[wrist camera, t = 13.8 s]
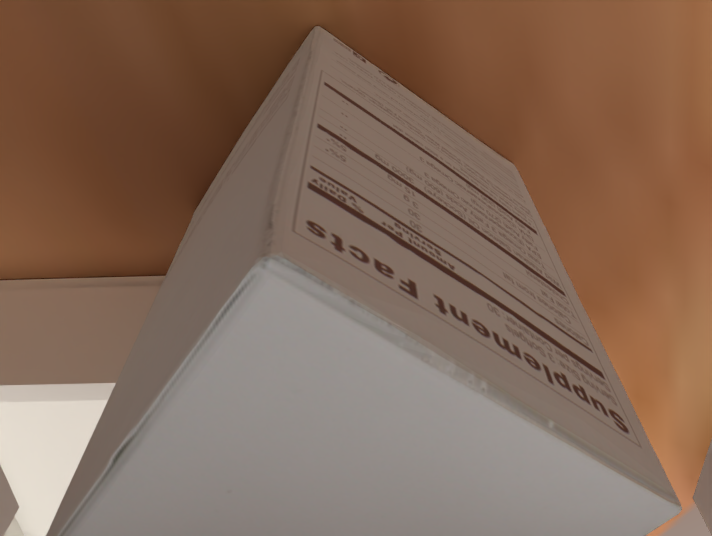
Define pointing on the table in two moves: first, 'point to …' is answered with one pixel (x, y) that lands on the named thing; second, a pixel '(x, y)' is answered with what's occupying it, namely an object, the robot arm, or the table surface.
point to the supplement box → (365, 346)
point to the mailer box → (59, 379)
